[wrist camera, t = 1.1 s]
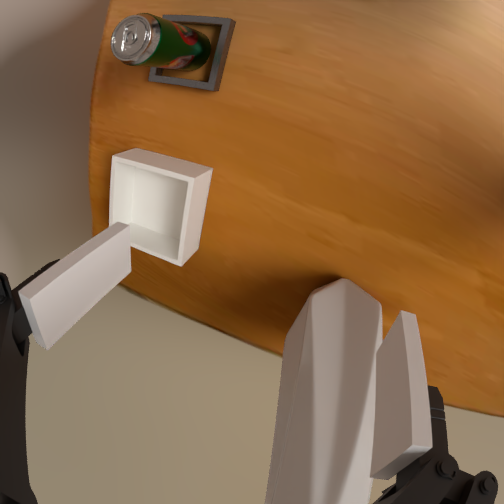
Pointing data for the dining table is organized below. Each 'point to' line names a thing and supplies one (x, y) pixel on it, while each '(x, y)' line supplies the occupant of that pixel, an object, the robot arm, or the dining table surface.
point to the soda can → (159, 43)
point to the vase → (327, 400)
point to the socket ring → (218, 58)
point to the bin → (159, 202)
